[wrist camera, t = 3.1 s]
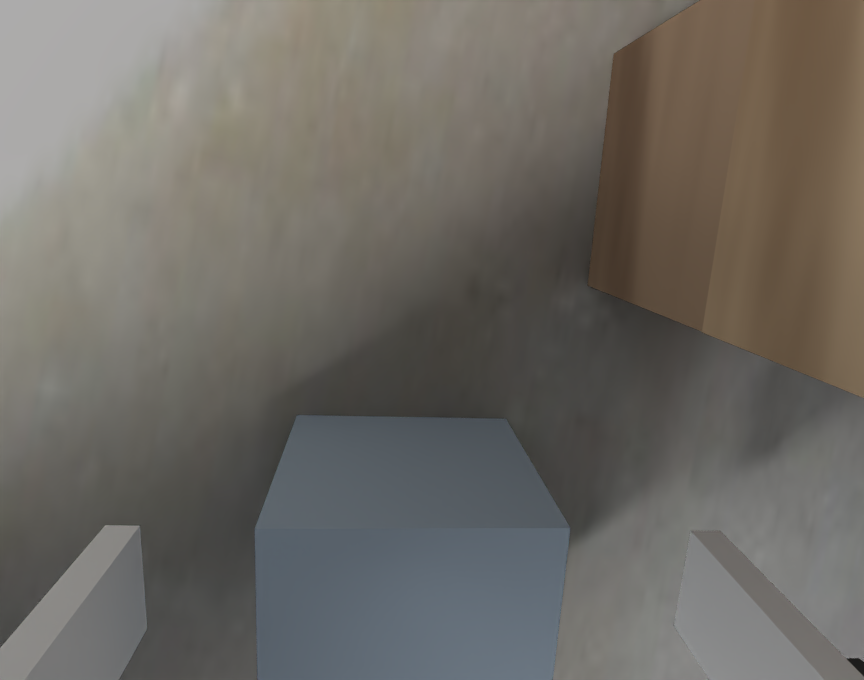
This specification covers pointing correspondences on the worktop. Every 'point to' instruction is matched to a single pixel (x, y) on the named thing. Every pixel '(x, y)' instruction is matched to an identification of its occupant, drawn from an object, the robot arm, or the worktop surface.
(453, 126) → the worktop surface
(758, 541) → the worktop surface
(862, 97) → the tower upper block
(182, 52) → the worktop surface
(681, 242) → the tower lower block
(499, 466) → the slate block
